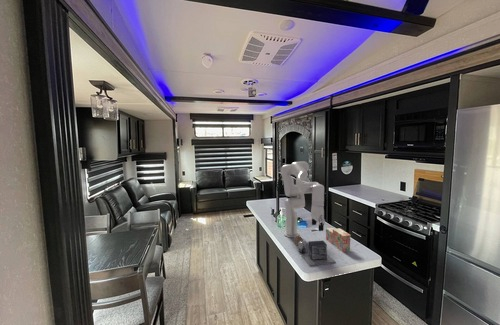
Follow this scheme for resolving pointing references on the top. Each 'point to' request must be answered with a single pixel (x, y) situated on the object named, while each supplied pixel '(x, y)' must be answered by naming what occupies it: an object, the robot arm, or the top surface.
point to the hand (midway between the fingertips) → (317, 227)
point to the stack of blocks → (338, 238)
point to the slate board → (317, 262)
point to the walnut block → (297, 240)
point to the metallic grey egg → (302, 246)
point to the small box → (317, 250)
